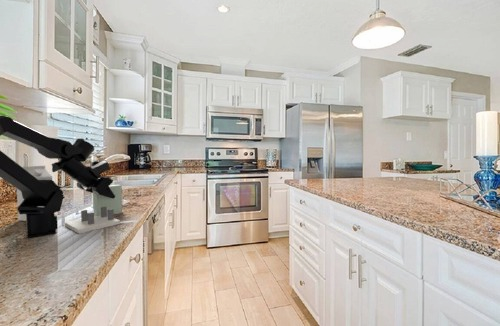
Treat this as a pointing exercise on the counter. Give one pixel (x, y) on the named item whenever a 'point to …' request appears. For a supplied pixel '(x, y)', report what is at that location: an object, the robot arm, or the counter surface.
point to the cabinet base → (93, 221)
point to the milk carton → (38, 173)
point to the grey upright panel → (108, 201)
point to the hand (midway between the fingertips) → (111, 196)
